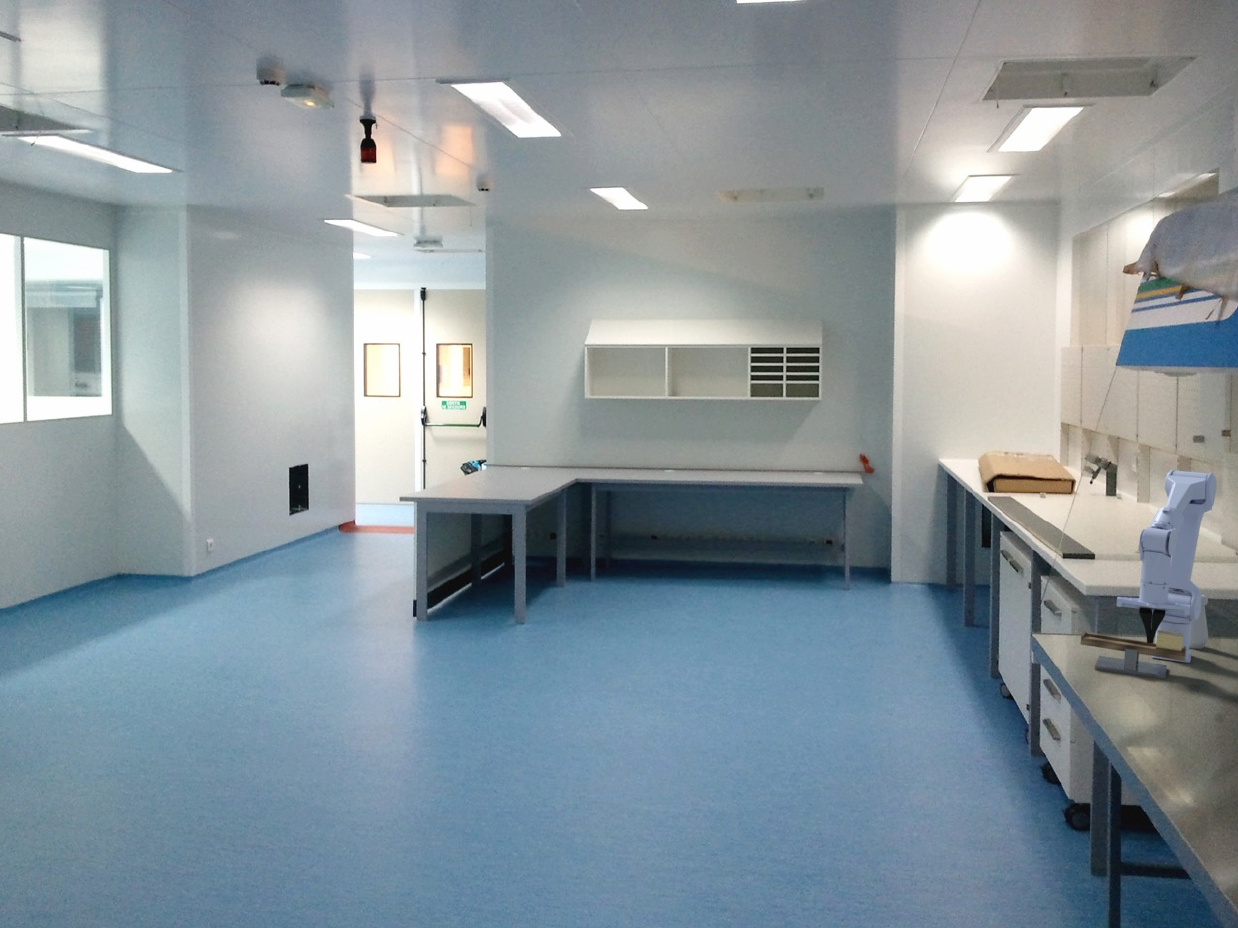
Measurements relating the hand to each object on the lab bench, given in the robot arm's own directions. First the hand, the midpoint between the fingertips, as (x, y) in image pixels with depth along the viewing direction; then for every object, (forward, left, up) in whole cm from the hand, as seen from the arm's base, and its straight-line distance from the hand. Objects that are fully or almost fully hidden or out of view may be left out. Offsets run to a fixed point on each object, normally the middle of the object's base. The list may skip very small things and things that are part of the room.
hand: (1150, 642), depth 239 cm
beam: (0, -3, -3) cm, 4 cm away
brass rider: (0, +4, -1) cm, 4 cm away
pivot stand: (0, -3, -7) cm, 7 cm away
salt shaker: (-32, +9, -7) cm, 34 cm away
